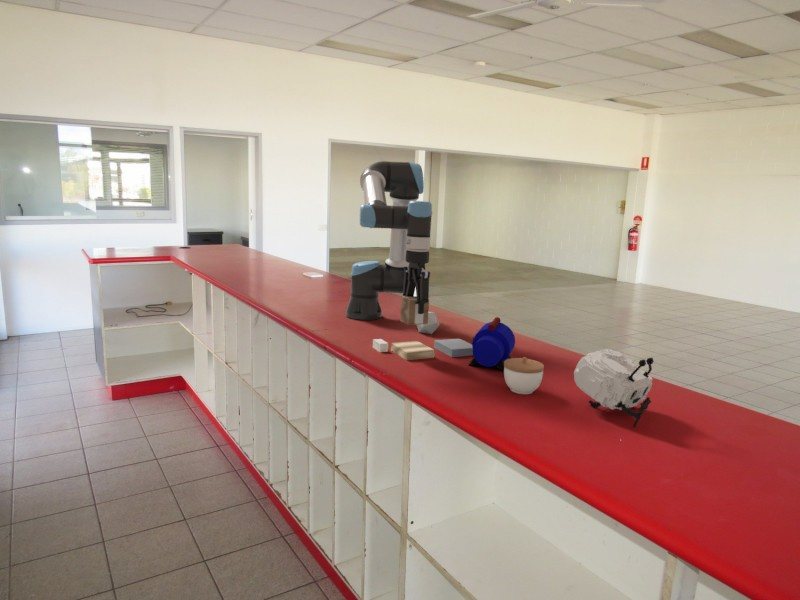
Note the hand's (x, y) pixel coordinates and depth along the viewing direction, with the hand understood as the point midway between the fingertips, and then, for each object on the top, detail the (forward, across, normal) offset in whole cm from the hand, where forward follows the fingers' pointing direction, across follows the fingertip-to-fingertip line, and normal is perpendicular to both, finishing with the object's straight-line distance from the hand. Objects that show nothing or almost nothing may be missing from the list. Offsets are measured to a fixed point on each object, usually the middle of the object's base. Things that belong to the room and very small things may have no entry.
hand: (413, 321), depth 183 cm
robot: (+12, +62, +27) cm, 68 cm away
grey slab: (+12, +1, +16) cm, 20 cm away
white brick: (+11, -8, -8) cm, 16 cm away
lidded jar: (+12, +41, +13) cm, 44 cm away
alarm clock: (+11, +19, +18) cm, 29 cm away
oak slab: (+12, 0, 0) cm, 12 cm away
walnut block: (0, 0, 0) cm, 0 cm away
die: (+11, -25, +19) cm, 34 cm away
